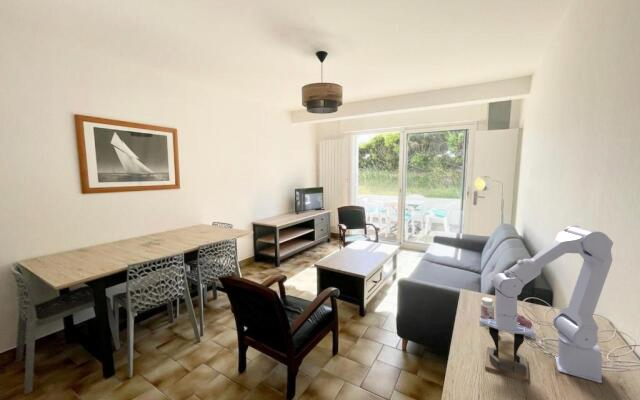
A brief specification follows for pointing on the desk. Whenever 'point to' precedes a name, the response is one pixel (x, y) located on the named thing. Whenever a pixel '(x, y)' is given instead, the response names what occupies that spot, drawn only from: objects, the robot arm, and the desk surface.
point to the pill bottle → (487, 308)
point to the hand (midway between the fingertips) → (506, 352)
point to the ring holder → (507, 365)
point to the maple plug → (506, 349)
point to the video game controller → (524, 322)
